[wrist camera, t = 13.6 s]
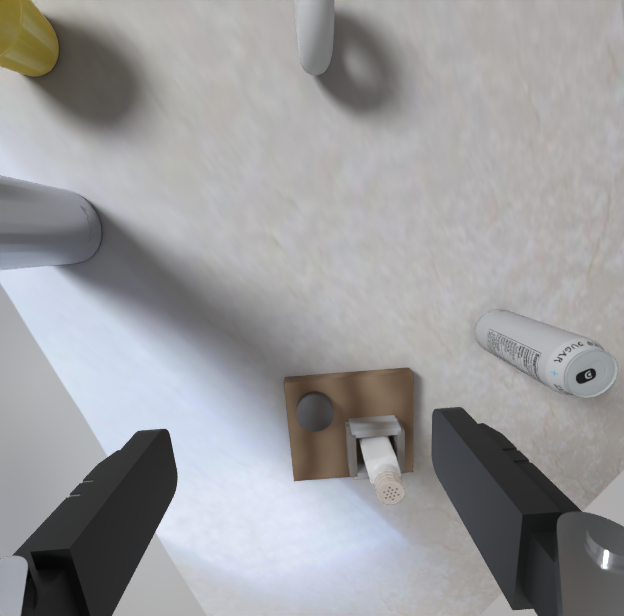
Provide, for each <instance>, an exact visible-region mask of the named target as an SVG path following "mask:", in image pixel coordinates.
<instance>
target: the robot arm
mask: <svg viewBox="0 0 624 616" xmlns="http://www.w3.org/2000/svg"><path fill="white" fill-rule="evenodd" d="M101 236H102V230H101V223H100V220H99V217H98V215H97V214H96V212H95V210H94V209H93V207H92V206H91V205H90V204H89V203H88V202H87V201H86V200H85V199H84V198H83V197H81V196H79V195H78V194H76V193H74V192H71V191H68V190H64V189H59V188H55V187H50V186H46V185H41V184H37V183H33V182H28V181H23V180H19V179H14V178H10V177H5V176H0V270H8V269H19V268H30V267H41V266H53V265H64V264H75V263H80V262H83V261H85V260H87V259H89V258H90V257H91V256H92V255H93V254H95V252H96V251H97V249H98V248H99V245H100V242H101ZM432 461H433V466H434V469H435V472H436V475H437V477H438V479H439V481H440V482H441V484H442V486H443V488H444V489H445V491H446V493H447V495H448V497H449V498H450V500H451V502H452V504H453V505H454V507H455V509H456V511H457V512H458V514H459V516H460V518H461V520H462V521H463V523H464V525H465V527H466V528H467V530H468V532H469V534H470V535H471V537H472V539H473V541H474V543H475V544H476V546H477V548H478V550H479V551H480V553H481V555H482V557H483V558H484V560H485V562H486V564H487V566H488V567H489V569H490V571H491V573H492V574H493V576H494V578H495V580H496V582H497V583H498V585H499V587H500V589H501V590H502V592H503V594H504V596H505V597H506V599H507V601H508V603H509V604H510V606H511V608H512V610H522V609H534V610H535V612H536V613H537V615H538V616H624V527H623V526H621V525H620V524H617V523H616V522H613V521H611V520H609V519H607V518H604V517H601V516H598V515H595V514H591V513H586V512H582V511H581V510H580V509H579V508H578V507H577V506H576V505H575V504H574V503H573V502H572V501H571V500H570V499H569V498H568V497H567V496H566V495H565V494H563V493H562V492H561V491H560V490H559V489H558V488H557V487H556V486H555V485H554V484H553V483H552V482H551V481H550V480H549V479H548V478H547V477H546V476H545V475H544V474H543V473H542V472H541V471H540V470H539V469H538V468H537V467H536V466H535V465H534V464H533V463H530V462H529V460H528V459H527V458H526V457H525V456H524V455H523V454H522V453H521V452H520V451H517V449H516V447H515V446H514V445H513V444H512V443H511V442H510V441H509V440H508V439H507V438H506V437H505V436H504V435H503V434H501V433H500V432H498V431H496V430H494V429H493V428H491V427H489V426H487V425H486V424H484V423H481V424H477V423H476V421H475V420H474V419H473V418H472V417H471V416H470V415H469V414H468V413H467V412H466V411H465V410H464V409H463V408H461V407H454V408H441V409H435V410H434V411H433V414H432ZM177 477H178V476H177V468H176V463H175V458H174V453H173V448H172V443H171V438H170V434H169V432H168V430H167V429H156V430H142V431H138V432H136V433H135V434H134V435H133V436H132V438H131V439H130V440H129V441H128V442H127V443H126V444H125V445H124V447H123V448H122V449H121V450H117V451H116V452H115V453H113V454H112V455H110V456H109V457H107V458H106V459H105V460H103V461H102V462H100V463H99V464H98V465H97V466H96V467H95V468H94V469H93V470H92V471H91V472H90V473H89V474H88V475H87V476H86V477H85V478H84V480H83V483H80V484H79V485H78V486H77V487H76V488H75V489H74V490H73V491H72V492H71V493H70V497H69V498H66V499H65V500H64V501H63V502H62V503H61V504H60V506H58V508H56V510H55V511H54V512H53V513H52V514H51V515H50V516H49V517H48V518H47V519H46V520H45V521H44V522H43V523H42V524H41V525H40V527H39V528H38V529H37V530H36V531H35V532H34V533H33V534H32V535H31V536H30V537H29V538H28V539H27V540H26V542H25V543H24V544H23V545H22V546H21V547H20V548H19V549H18V550H17V551H16V552H15V553H14V554H13V555H12V556H7V557H3V558H0V616H112V614H113V612H114V610H115V608H116V607H117V605H118V603H119V601H120V599H121V597H122V595H123V593H124V591H125V589H126V587H127V585H128V583H129V582H130V580H131V577H132V576H133V574H134V572H135V570H136V568H137V566H138V564H139V562H140V560H141V558H142V556H143V554H144V553H145V551H146V549H147V547H148V545H149V543H150V541H151V539H152V537H153V535H154V533H155V531H156V529H157V528H158V526H159V524H160V522H161V520H162V518H163V516H164V514H165V512H166V510H167V508H168V506H169V504H170V502H171V501H172V499H173V496H174V494H175V491H176V487H177Z"/></svg>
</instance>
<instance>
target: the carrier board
mask: <svg viewBox="0 0 624 616" xmlns="http://www.w3.org/2000/svg"><path fill="white" fill-rule="evenodd" d="M284 388H285V398H286V408H287V417H288V427H289V437H290V446H291V456H292V466H293V475H294V481H302V480H315V479H328V478H341V477H354V480H359V479H369V475H368V472H367V469H366V465H365V461H364V458H363V454H362V450H361V446H360V443H359V439H358V438H362V437H375V436H388V438H389V441H390V443H391V445H392V448H393V450H394V453H395V455H396V458H397V461H398V465H399V468H400V472H401V473H405V472H413V373H412V372H411V370H410V369H409V368H398V369H385V370H372V371H359V372H346V373H333V374H320V375H308V376H295V377H285V381H284Z"/></svg>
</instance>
